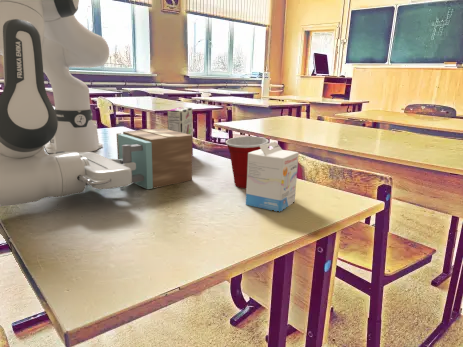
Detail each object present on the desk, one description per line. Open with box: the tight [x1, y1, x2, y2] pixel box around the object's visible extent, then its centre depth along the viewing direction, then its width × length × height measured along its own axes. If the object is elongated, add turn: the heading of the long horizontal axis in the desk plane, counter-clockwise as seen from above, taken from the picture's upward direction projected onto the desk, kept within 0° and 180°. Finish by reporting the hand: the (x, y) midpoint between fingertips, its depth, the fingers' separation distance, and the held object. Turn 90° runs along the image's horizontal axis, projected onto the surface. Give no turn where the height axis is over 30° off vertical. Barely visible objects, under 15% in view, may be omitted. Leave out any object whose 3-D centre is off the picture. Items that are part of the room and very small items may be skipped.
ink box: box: [245, 141, 300, 213], centre depth 78 cm, size 9×8×13 cm
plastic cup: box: [225, 135, 270, 189], centre depth 91 cm, size 11×11×12 cm
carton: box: [122, 128, 193, 189], centre depth 95 cm, size 14×12×12 cm
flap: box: [116, 132, 154, 190], centre depth 89 cm, size 16×6×11 cm, turn 43°
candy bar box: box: [166, 106, 194, 156], centre depth 117 cm, size 11×5×16 cm, turn 168°
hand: (130, 163), depth 84 cm, fingers closed on flap, 2 cm apart
